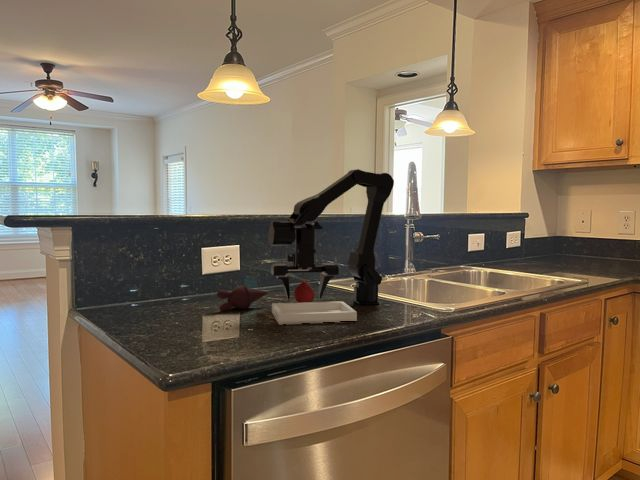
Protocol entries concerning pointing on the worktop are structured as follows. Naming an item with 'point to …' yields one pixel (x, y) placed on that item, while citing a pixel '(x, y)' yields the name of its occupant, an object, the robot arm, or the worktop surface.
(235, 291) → the dark red toy figure
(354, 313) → the tray
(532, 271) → the worktop surface
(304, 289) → the onion
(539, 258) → the worktop surface
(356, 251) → the robot arm
